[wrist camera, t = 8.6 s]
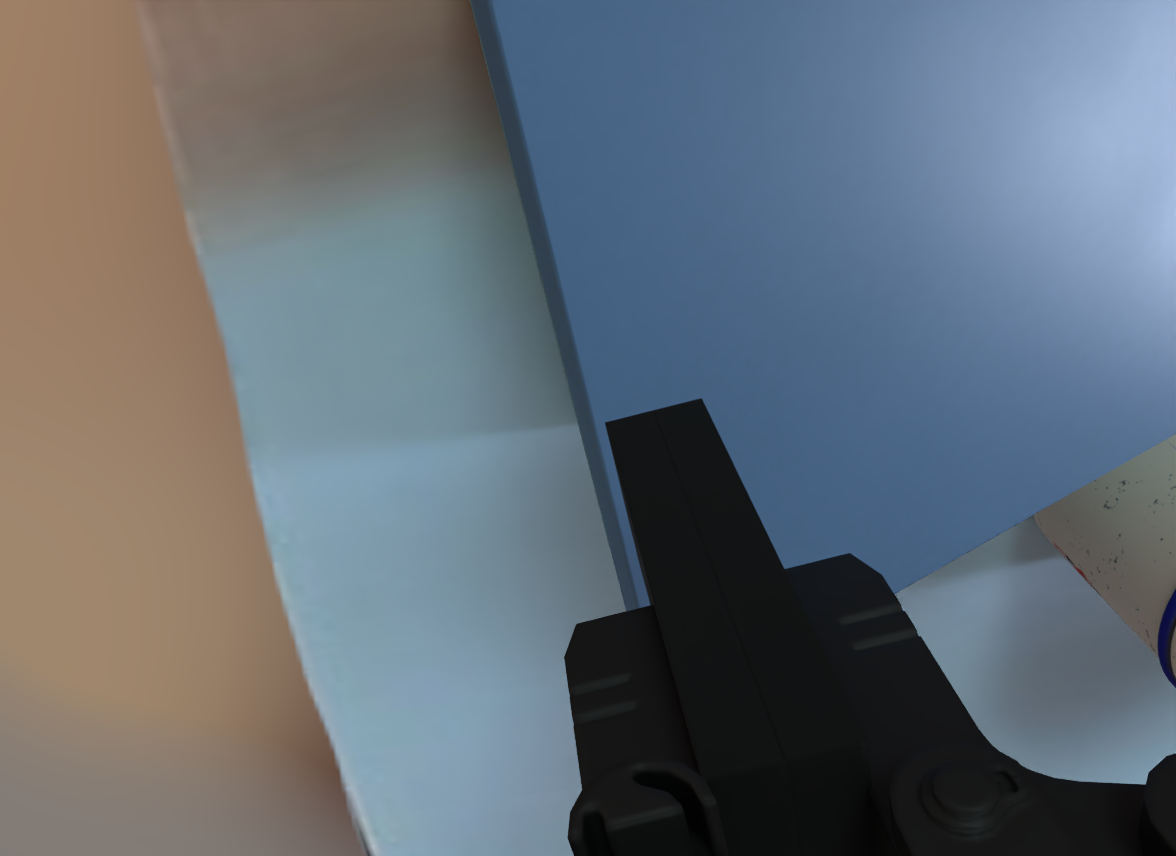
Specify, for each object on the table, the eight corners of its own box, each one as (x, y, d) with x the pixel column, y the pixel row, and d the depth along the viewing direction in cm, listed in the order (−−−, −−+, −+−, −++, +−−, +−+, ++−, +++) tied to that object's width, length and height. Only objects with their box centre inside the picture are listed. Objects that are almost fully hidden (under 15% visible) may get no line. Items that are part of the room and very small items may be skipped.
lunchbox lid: (648, 702, 21) (666, 724, 21) (438, -118, 13) (457, -123, 12) (1174, 409, 26) (1202, 420, 26) (1272, -321, 18) (1316, -332, 17)
